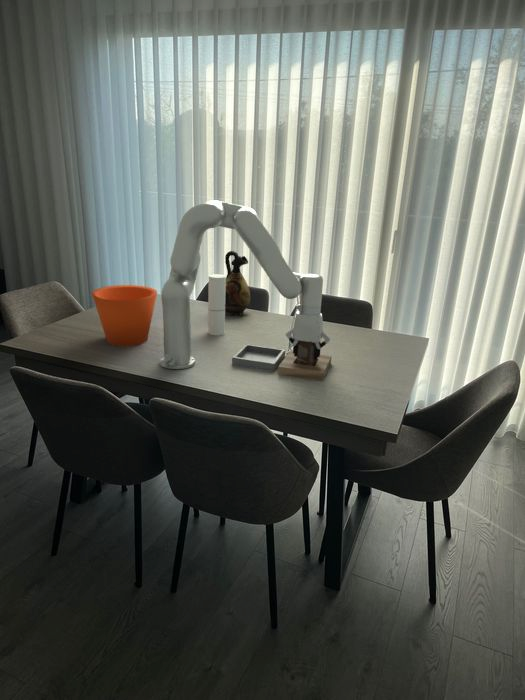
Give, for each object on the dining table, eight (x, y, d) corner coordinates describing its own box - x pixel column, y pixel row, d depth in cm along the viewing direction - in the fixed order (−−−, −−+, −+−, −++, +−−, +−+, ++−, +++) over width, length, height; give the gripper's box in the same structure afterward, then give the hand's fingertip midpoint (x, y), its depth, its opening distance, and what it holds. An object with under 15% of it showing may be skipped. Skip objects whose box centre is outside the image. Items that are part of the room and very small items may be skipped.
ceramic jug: (255, 312, 256) (258, 252, 245) (238, 319, 243) (240, 256, 233) (228, 306, 264) (229, 247, 254) (209, 312, 252) (210, 251, 241)
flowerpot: (111, 354, 193) (108, 303, 186) (85, 336, 211) (81, 289, 204) (169, 342, 208) (168, 295, 201) (141, 326, 226) (139, 282, 219)
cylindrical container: (225, 330, 226) (227, 274, 217) (223, 335, 219) (224, 278, 211) (209, 329, 226) (210, 273, 218) (206, 334, 220) (207, 277, 211)
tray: (274, 371, 184) (274, 363, 183) (232, 365, 188) (232, 357, 187) (284, 356, 199) (285, 349, 198) (245, 351, 203) (245, 344, 202)
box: (315, 369, 188) (318, 338, 183) (307, 372, 184) (310, 341, 180) (302, 364, 191) (305, 334, 187) (294, 367, 188) (297, 336, 184)
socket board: (322, 381, 178) (323, 373, 177) (277, 374, 182) (278, 366, 181) (330, 363, 194) (331, 356, 193) (289, 357, 198) (290, 350, 197)
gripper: (283, 309, 179) (280, 357, 185) (332, 315, 175) (328, 363, 181) (288, 304, 186) (285, 350, 192) (336, 309, 181) (331, 356, 188)
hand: (306, 356), depth 186 cm, fingers closed on box, 7 cm apart
